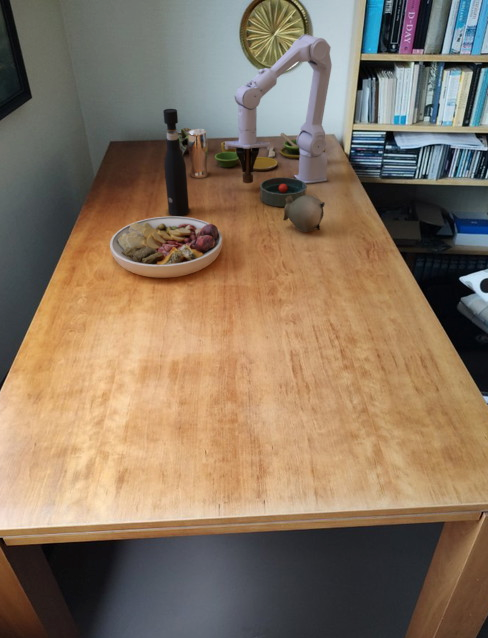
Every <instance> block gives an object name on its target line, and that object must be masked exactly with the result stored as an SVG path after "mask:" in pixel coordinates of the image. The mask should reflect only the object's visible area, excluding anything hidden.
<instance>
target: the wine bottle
mask: <svg viewBox="0 0 488 638" xmlns="http://www.w3.org/2000/svg"><path fill="white" fill-rule="evenodd" d="M163 123H164V124H165V125H166V128H167V129H166V130H167V131H166V139H165V140H166V152H165V157H164V165H163V166H164V168H163V169H164V176H165V177H164V178H165V187H166V188H165V189H166V199H167V206H168V214H169V215H170V216H179V217H185V216H187V215H188V214H189V213H190V207H189V206H190V204H189V191H188V178H187V165H186V161H185V158H184V154H183V155H182V149H181V147H180V144H179V138H178V131H177V124H178V123H179V118H178V109H176V108H166V109H163Z"/></svg>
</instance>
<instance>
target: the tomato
mask: <svg viewBox="0 0 488 638" xmlns="http://www.w3.org/2000/svg"><path fill="white" fill-rule="evenodd" d="M279 191H280V192H281V193H285V192H286V191H287V185H286V184H281V185H280V186H279Z"/></svg>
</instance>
